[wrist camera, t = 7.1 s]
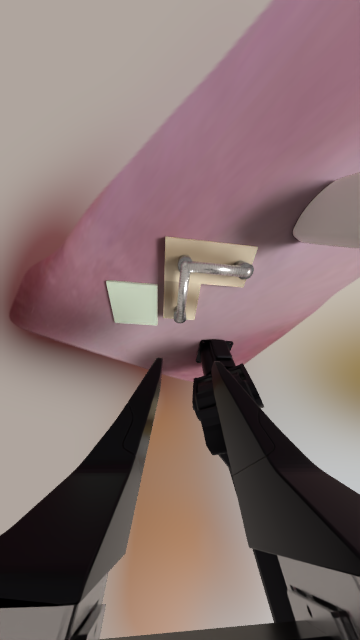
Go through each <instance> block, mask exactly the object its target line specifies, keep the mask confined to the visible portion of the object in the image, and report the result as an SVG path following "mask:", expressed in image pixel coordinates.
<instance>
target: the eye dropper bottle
mask: <svg viewBox="0 0 360 640" xmlns="http://www.w3.org/2000/svg"><path fill="white" fill-rule="evenodd" d="M293 235H294V237H295V238H297V239H298V240H299V241H300V242H302V243H309V244H319V245H328V246H338V247H348V248H360V172H358V173H355V174H352V175H349V176H346V177H342V178H340V179H337V180H336V181H334V182H333V183H331V184H330V185H328V186H327V187H326V188H325V189H324V190H322V191H321V192H320V193H319V194H318V195H317V196H316V197H315V198H314V199H313V200H312V201H311V202H310V204H309V205H308V206H307V207H306V209H305V210H304V211H303V213H302V214H301V216H300V218H299V219H298V221H297V223H296V225H295V227H294V229H293Z"/></svg>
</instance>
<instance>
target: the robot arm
mask: <svg viewBox="0 0 360 640" xmlns="http://www.w3.org/2000/svg"><path fill="white" fill-rule="evenodd" d="M203 341H204V343H202V342H203ZM230 343H231V344H230ZM232 345H233V342H232V341H224V340H201V341H200V345H199V350H198V354H197V358H196V362H198V363H202V368H203V374H204V376H202V377H199V378H194V383H193V401H192V402H193V410H195V413H196V415H197V417H198V419H199V420H200V421H201V424H202V427H203V431H204V437H205V441H206V445H207V447H208V449H209V450H210V452H211V454H212V455H219V456H220V457H221V458H222V460H223V461H224V462H225V464H226V465H227V466H228V467H229V471H230V474H231V477H232V480H233V484H234V487H235V491H236V494H237V497H238V501H239V506H240V510H241V515H242V519H243V523H244V528H245V532H246V537H247V541H248V545H249V547H250V548H252V549H253V552H254V555H255V559H256V562H257V566H258V569H259V572H260V576H261V579H262V583H263V586H264V589H265V593H266V596H267V599H268V603H269V606H270V610H271V613H272V617H273V620H274V623H269V624H259V625H248V626H237V627H226V628H216V629H205V630H194V631H184V632H173V633H163V634H152V635H141V636H130V637H120V638H109V639H99V638H100V633H101V628H102V622H103V617H104V612H105V606H106V604H102V601H103V596H104V591H105V586H106V582H107V576H108V572H109V571H110V569H111V568H112V567H113V566H114V565H115V564H116V563H117V562H118V561H119V560H120V559H121V557H122V556H123V555H124V554H125V552H126V547H127V543H128V538H129V533H130V529H131V524H132V519H133V515H134V510H135V505H136V501H137V496H138V491H139V486H140V482H141V476H142V472H143V467H144V463H145V458H146V453H147V449H148V444H149V440H150V435H151V430H152V426H153V421H154V416H155V411H156V407H157V402H158V397H159V392H160V386H161V375H162V363H163V359H162V358H156V360H155V361H154V363H153V364H152V366H151V368H150V369H149V371H148V372H147V374H146V375H145V377H144V378H143V380H142V381H141V383H140V385H139V386H138V387H137V389H136V391H135V392H134V394H133V395H132V397H131V398H130V400H129V401H128V403H127V404H126V406H125V407H124V409H123V410H122V412H121V413H120V415H119V416H118V418H117V419H116V420H115V422H114V423H113V424H112V426H111V427H110V429H109V430H108V431H107V432H106V433H105V435H104V436H103V437H102V438H101V440H100V441H99V442H98V443H97V445H96V446H95V447H94V448H93V450H92V451H91V452H90V454H89V455H88V456H87V457H86V458H85V459H84V461H83V462H82V463H81V464H80V465H79V466H78V467H77V468H76V470H75V471H73V472H72V473H71V474H70V475H69V476H68V477H67V478H66V479H65V480H64V481H63V482H61V483H60V484H59V485H58V486H57V487H56V488H55V489H54V490H53V491H52V492H51V493H49V494H48V495H47V496H46V497H45V498H44V499H43V500H41V501H40V502H39V503H38V504H37V505H36V506H35V507H34V508H32V509H31V510H30V511H29V512H28V513H27V514H26V515H25V516H24V517H22V518H21V519H20V520H19V521H18V522H17V523H16V524H15V525H14V526H12V527H11V528H10V529H9V530H7V531H6V532H5V533H3V534H2V535H1V536H0V640H360V494H358V493H356V492H355V491H353V490H352V489H350V488H349V487H347V486H345V485H344V484H342V483H341V482H339V481H338V480H336V479H334V478H333V477H331V476H330V475H328V474H326V473H325V472H324V471H322V470H321V469H319V468H318V467H317V466H316V465H314V463H312V462H311V461H310V460H309V459H308V458H307V457H306V456H305V455H304V454H303V453H302V452H301V451H300V450H299V449H298V448H297V447H296V446H295V445H294V444H293V443H292V442H291V441H290V440H289V439H288V438H287V437H286V436H285V435H284V434H283V433H282V432H281V431H280V429H279V428H278V427H277V426H276V425H275V424H274V423H273V422H272V421H271V420H270V419H269V418H268V416H267V415H266V414H265V413H264V412H263V411H262V410H261V408H263V407H264V405H263V403H262V400H261V398H260V396H259V394H258V392H257V390H256V388H255V385H254V384H253V382H252V380H251V378H250V376H249V374H248V372H247V370H246V369H245V367H244V365H243V363H242V364H240V365H238V366H235V363H234V361H233V359H232V355H231V353H230V350H231V348H232ZM198 360H199V361H198Z"/></svg>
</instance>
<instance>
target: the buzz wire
mask: <svg viewBox="0 0 360 640" xmlns="http://www.w3.org/2000/svg"><path fill="white" fill-rule="evenodd" d="M257 249H258V247H255V246H248V245H239V244H230V243H221V242H212V241H203V240H194V239H184V238H175V237H166V238H165V272H164V306H163V318H170V319H174V321H175V322H177V323H183V322H185V321H186V320H194V319H195V313H196V308H197V303H198V297H199V292H200V286H201V284H209V285H220V286H232V287H244V284H245V281H246V279H248V278H249V277H250V276H251V275H252V274H253V271H254V268H253V266H252V263H253V260H254V257H255V254H256V252H257Z"/></svg>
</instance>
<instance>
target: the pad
mask: <svg viewBox="0 0 360 640" xmlns="http://www.w3.org/2000/svg"><path fill="white" fill-rule="evenodd" d="M106 284H107V289H108V293H109V298H110V302H111V307H112V312H113V316H114V321H115V323H125V324H141V325H157V324H158V284H149V283H137V282H125V281H113V280H107V281H106Z"/></svg>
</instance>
